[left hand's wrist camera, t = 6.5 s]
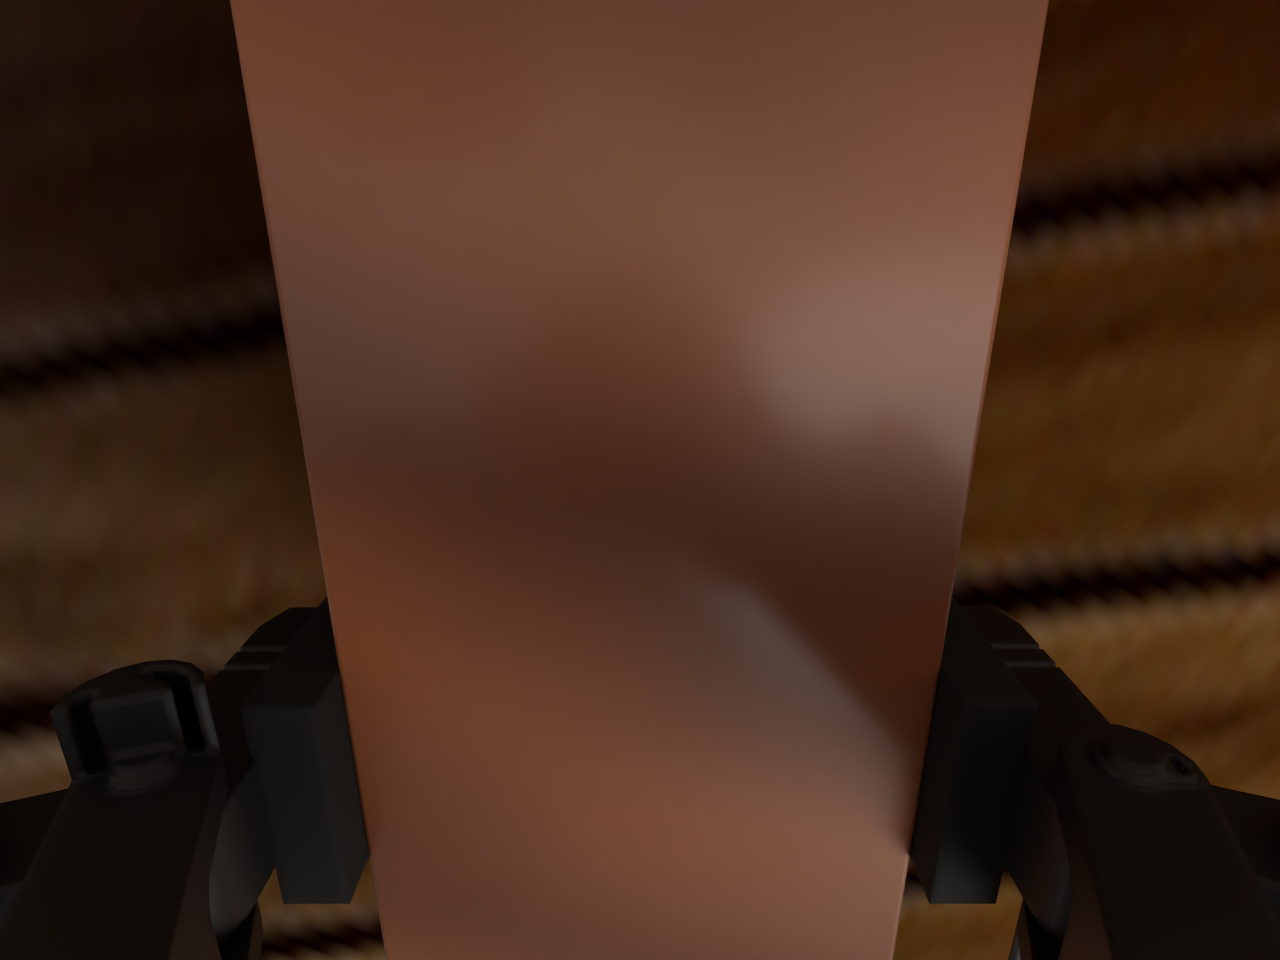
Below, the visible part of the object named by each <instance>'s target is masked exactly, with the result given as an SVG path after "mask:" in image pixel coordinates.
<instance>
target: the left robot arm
mask: <svg viewBox="0 0 1280 960" xmlns="http://www.w3.org/2000/svg"><path fill="white" fill-rule="evenodd" d="M50 714H51V717H52V720H53V723H54V726H55V730H56V733H57V736H58V739H59V742H60V745H61V748H62V751H63V754H64V757H65V760H66V763H67V766H68V769H69V772H70V775H71V778H72V782H71V784H70V786H69V788H68V789H64V790H60V791H56V792H51V793H46V794H42V795H37V796H32V797H28V798H23V799H18V800H14V801H9V802H4V803H0V960H260V954H261V947H262V939H263V926H262V919H261V913H260V909H259V905H258V901H257V899H258V897H259V895H260V894H261V892H262V890H263V888H264V886H265V885H266V883H267V881H268V879H269V877H270V875H271V874H272V872H273V870H274V868H275V867H276V871H277V876H278V880H279V885H280V889H281V894H282V898H283V903H284V904H350V901H351V899H352V897H353V894H354V892H355V889H356V887H357V884H358V882H359V880H360V877H361V875H362V872H363V870H364V868H365V865H366V863H367V860H368V858H369V849H368V843H367V837H366V831H365V824H364V818H363V812H362V806H361V800H360V794H359V788H358V782H357V775H356V769H355V763H354V757H353V751H352V745H351V739H350V733H349V726H348V720H347V714H346V708H345V702H344V696H343V690H342V684H341V677H340V671H339V665H338V659H337V653H336V647H335V641H334V635H333V628H332V622H331V616H330V610H329V604H328V598H327V596H326V598H325V599H324V600H323V602H322V603H321V604H320V605H319V607H318V608H289V609H287V610H286V611H284V612H282V613H281V614H279V615H277V616H276V617H274V618H273V619H271V620H269V621H268V622H266V623H264V624H263V625H261V626H260V627H259V628H258V629H257V630H256V631H255V632H254V633H253V635H252V636H251V637H250V638H249V639H248V640H247V641H246V642H245V643H244V645H243V646H242V647H241V651H240V652H236V653H235V655H234V656H233V657H232V658H231V659H230V660H229V661H228V662H227V664H226V665H225V668H224V670H220V671H219V672H218V674H217V675H216V676H215V677H214V678H213V679H212V680H211V681H210V682H209V684H208V685H207V686H206V682H205V678H204V674H203V671H201V670H200V669H199V668H197V667H196V666H195V665H193V664H192V663H188V662H182V661H176V660H161V661H148V662H142V663H138V664H134V665H130V666H126V667H122V668H118V669H115V670H113V671H111V672H108V673H106V674H103V675H101V676H99V677H96V678H94V679H91V680H89V681H87V682H86V683H84V684H83V685H81V686H79V687H78V688H76V689H75V690H73V691H71V692H70V693H68V694H67V695H65V696H64V697H63V698H62V699H61V700H60V701H59V703H58V704H57V705H56V706H55V707H54V708H53V709H52V710H51V711H50ZM910 857H911V860H912V862H913V865H914V867H915V869H916V872H917V874H918V877H919V879H920V882H921V884H922V886H923V889H924V891H925V894H926V896H927V898H928V901H929V903H930V904H996V899H997V895H998V890H999V886H1000V881H1001V877H1002V872H1003V868H1004V864H1005V866H1006V867H1007V869H1008V871H1009V873H1010V875H1011V877H1012V878H1013V880H1014V882H1015V884H1016V886H1017V887H1018V889H1019V891H1020V893H1021V895H1022V896H1023V901H1022V905H1021V909H1020V913H1019V917H1018V922H1017V926H1016V930H1015V934H1014V938H1013V943H1012V947H1011V951H1010V955H1009V959H1008V960H1280V800H1278V799H1273V798H1269V797H1264V796H1259V795H1254V794H1250V793H1245V792H1240V791H1236V790H1231V789H1226V788H1221V787H1218V786H1214V785H1211V784H1210V782H1209V780H1208V779H1207V778H1206V776H1205V775H1204V774H1203V772H1202V771H1201V770H1200V769H1199V767H1198V766H1197V765H1196V764H1195V762H1194V761H1192V760H1191V759H1190V758H1188V757H1187V756H1186V755H1184V754H1183V753H1182V752H1180V751H1179V750H1177V749H1176V748H1175V747H1173V746H1172V745H1170V744H1168V743H1166V742H1164V741H1162V740H1160V739H1158V738H1156V737H1153V736H1151V735H1149V734H1147V733H1145V732H1142V731H1138V730H1135V729H1131V728H1128V727H1124V726H1121V725H1117V724H1110V723H1109V722H1108V721H1107V720H1106V719H1105V718H1104V716H1103V715H1102V714H1101V713H1100V712H1099V711H1098V710H1097V709H1096V708H1095V706H1094V705H1093V704H1092V703H1091V702H1090V701H1089V700H1088V699H1087V698H1086V696H1085V695H1084V694H1083V693H1082V692H1081V691H1080V690H1079V689H1078V688H1077V686H1076V685H1075V684H1074V683H1073V682H1072V681H1071V680H1070V679H1069V678H1068V677H1067V675H1066V674H1065V673H1064V672H1063V671H1062V670H1061V669H1060V668H1059V667H1055V662H1054V661H1053V660H1052V659H1051V658H1050V657H1049V655H1048V654H1047V653H1046V652H1045V651H1044V650H1043V649H1039V644H1038V643H1037V642H1036V641H1035V640H1034V639H1033V638H1032V637H1031V636H1030V634H1029V633H1028V632H1027V631H1026V630H1025V629H1024V628H1023V627H1022V626H1021V624H1020V623H1018V622H1016V621H1015V620H1013V619H1011V618H1010V617H1008V616H1006V615H1005V614H1003V613H1001V612H1000V611H998V610H996V609H995V608H993V607H991V606H990V605H959V604H958V603H957V601H956V600H955V599H954V598H953V596H952V598H951V604H950V610H949V617H948V623H947V629H946V635H945V641H944V647H943V653H942V660H941V666H940V672H939V678H938V684H937V690H936V696H935V703H934V709H933V715H932V721H931V727H930V733H929V739H928V746H927V752H926V758H925V764H924V770H923V776H922V782H921V789H920V795H919V801H918V807H917V813H916V819H915V825H914V832H913V838H912V844H911V850H910Z"/></svg>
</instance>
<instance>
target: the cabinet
mask: <svg viewBox="0 0 1280 960" xmlns="http://www.w3.org/2000/svg"><path fill="white" fill-rule="evenodd" d="M1048 2H1049V0H230V4H231V10H232V16H233V22H234V28H235V34H236V40H237V47H238V53H239V59H240V65H241V71H242V77H243V83H244V89H245V96H246V102H247V108H248V114H249V120H250V126H251V132H252V138H253V145H254V151H255V157H256V163H257V169H258V175H259V181H260V187H261V194H262V200H263V206H264V212H265V218H266V224H267V230H268V236H269V243H270V249H271V255H272V261H273V267H274V273H275V279H276V285H277V292H278V298H279V304H280V310H281V316H282V322H283V328H284V334H285V341H286V347H287V353H288V359H289V365H290V371H291V377H292V383H293V390H294V396H295V402H296V408H297V414H298V420H299V426H300V432H301V439H302V445H303V451H304V457H305V463H306V469H307V475H308V481H309V488H310V494H311V500H312V506H313V512H314V518H315V524H316V530H317V537H318V543H319V549H320V555H321V561H322V567H323V573H324V579H325V586H326V592H327V598H328V604H329V610H330V616H331V622H332V628H333V635H334V641H335V647H336V653H337V659H338V665H339V671H340V677H341V684H342V690H343V696H344V702H345V708H346V714H347V720H348V726H349V733H350V739H351V745H352V751H353V757H354V763H355V769H356V775H357V782H358V788H359V794H360V800H361V806H362V812H363V818H364V824H365V831H366V837H367V843H368V849H369V855H370V861H371V867H372V873H373V880H374V886H375V892H376V898H377V904H378V910H379V916H380V922H381V929H382V935H383V941H384V947H385V953H386V959H387V960H893V954H894V948H895V942H896V936H897V930H898V924H899V918H900V911H901V905H902V899H903V893H904V887H905V881H906V875H907V868H908V862H909V856H910V850H911V844H912V838H913V832H914V825H915V819H916V813H917V807H918V801H919V795H920V789H921V782H922V776H923V770H924V764H925V758H926V752H927V746H928V739H929V733H930V727H931V721H932V715H933V709H934V703H935V696H936V690H937V684H938V678H939V672H940V666H941V660H942V653H943V647H944V641H945V635H946V629H947V623H948V617H949V610H950V604H951V598H952V592H953V586H954V580H955V574H956V567H957V561H958V555H959V549H960V543H961V537H962V531H963V524H964V518H965V512H966V506H967V500H968V494H969V488H970V481H971V475H972V469H973V463H974V457H975V451H976V444H977V438H978V432H979V426H980V420H981V414H982V408H983V401H984V395H985V389H986V383H987V377H988V371H989V365H990V358H991V352H992V346H993V340H994V334H995V328H996V322H997V315H998V309H999V303H1000V297H1001V291H1002V285H1003V279H1004V272H1005V266H1006V260H1007V254H1008V248H1009V242H1010V236H1011V229H1012V223H1013V217H1014V211H1015V205H1016V199H1017V193H1018V186H1019V180H1020V174H1021V168H1022V162H1023V156H1024V150H1025V143H1026V137H1027V131H1028V125H1029V119H1030V113H1031V107H1032V100H1033V94H1034V88H1035V82H1036V76H1037V70H1038V64H1039V57H1040V51H1041V45H1042V39H1043V33H1044V27H1045V21H1046V14H1047V8H1048Z"/></svg>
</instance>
